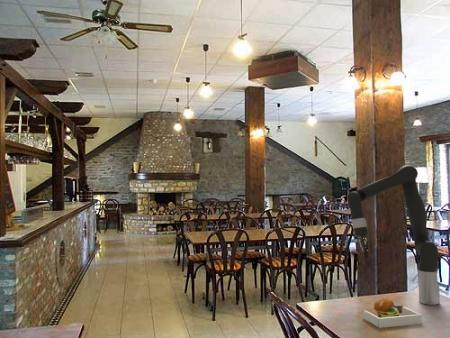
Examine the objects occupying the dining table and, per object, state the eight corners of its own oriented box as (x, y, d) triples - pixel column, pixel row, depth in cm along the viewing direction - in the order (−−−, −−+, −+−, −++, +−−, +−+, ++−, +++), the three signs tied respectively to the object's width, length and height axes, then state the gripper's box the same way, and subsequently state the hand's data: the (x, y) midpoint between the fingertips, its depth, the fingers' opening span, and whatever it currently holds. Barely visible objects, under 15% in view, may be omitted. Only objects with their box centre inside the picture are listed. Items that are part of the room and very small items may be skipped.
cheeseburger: (404, 321, 181) (398, 300, 182) (381, 326, 182) (375, 305, 183) (396, 313, 191) (391, 293, 192) (375, 318, 192) (369, 298, 193)
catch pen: (404, 314, 190) (403, 306, 190) (422, 323, 178) (421, 314, 178) (363, 318, 186) (363, 310, 186) (379, 327, 173) (379, 318, 174)
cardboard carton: (394, 307, 202) (394, 301, 202) (403, 311, 195) (403, 305, 195) (387, 307, 201) (387, 302, 201) (396, 312, 194) (396, 306, 195)
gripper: (369, 225, 211) (376, 257, 207) (364, 226, 224) (371, 256, 220) (354, 227, 212) (361, 259, 209) (351, 228, 225) (357, 258, 221)
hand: (366, 258), depth 214 cm, fingers closed
